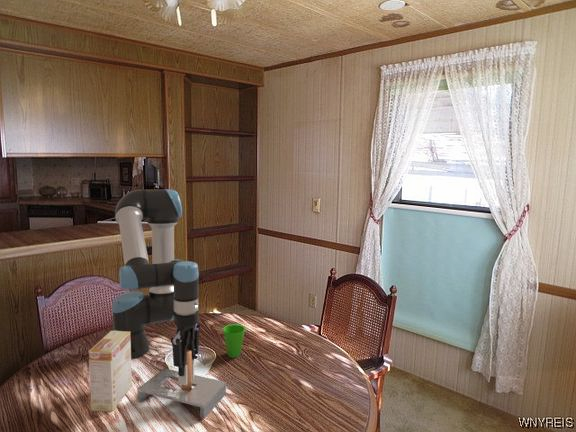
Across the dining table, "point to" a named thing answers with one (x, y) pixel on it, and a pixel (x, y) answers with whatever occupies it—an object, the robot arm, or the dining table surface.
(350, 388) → the dining table surface
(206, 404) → the keyhole plate
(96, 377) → the coffeecake box
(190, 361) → the headed peg
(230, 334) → the cup
